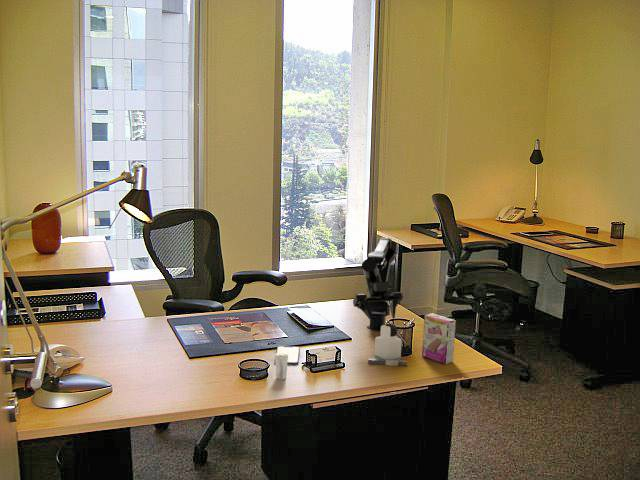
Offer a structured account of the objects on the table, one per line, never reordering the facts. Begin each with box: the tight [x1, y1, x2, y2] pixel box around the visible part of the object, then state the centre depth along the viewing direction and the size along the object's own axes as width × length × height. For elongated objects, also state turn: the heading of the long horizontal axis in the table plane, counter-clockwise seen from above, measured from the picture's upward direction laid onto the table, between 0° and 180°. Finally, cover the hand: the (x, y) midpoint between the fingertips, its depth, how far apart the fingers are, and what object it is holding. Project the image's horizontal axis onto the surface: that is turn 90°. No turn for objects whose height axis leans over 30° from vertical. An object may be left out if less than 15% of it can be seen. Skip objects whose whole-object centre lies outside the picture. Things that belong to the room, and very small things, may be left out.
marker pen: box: [367, 358, 408, 367], centre depth 256 cm, size 2×14×2 cm, turn 84°
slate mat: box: [374, 354, 402, 360], centre depth 263 cm, size 10×10×1 cm
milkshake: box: [272, 351, 288, 381], centre depth 240 cm, size 4×5×10 cm
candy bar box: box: [421, 312, 457, 365], centre depth 261 cm, size 11×5×16 cm, turn 44°
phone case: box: [274, 345, 301, 366], centre depth 261 cm, size 9×2×16 cm
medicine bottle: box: [374, 323, 403, 360], centre depth 262 cm, size 7×7×12 cm
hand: (382, 319), depth 268 cm, fingers open, 9 cm apart
